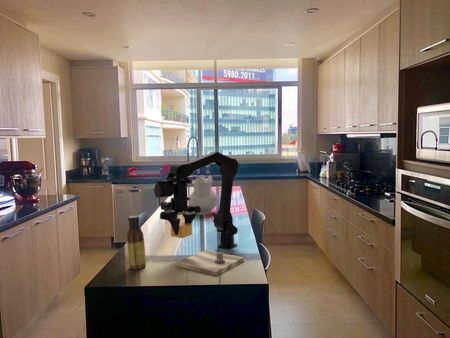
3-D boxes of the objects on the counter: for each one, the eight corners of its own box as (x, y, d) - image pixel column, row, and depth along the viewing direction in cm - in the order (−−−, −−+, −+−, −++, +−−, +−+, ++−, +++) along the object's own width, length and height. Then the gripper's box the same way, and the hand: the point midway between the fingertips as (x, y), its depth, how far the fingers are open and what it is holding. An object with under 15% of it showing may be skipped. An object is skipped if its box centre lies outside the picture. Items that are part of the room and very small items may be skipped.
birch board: (205, 253, 155) (205, 241, 155) (243, 261, 144) (243, 248, 144) (176, 266, 140) (176, 253, 140) (216, 275, 129) (215, 262, 129)
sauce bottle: (147, 264, 143) (145, 214, 142) (144, 270, 137) (142, 217, 135) (130, 265, 143) (128, 214, 141) (126, 270, 137) (124, 218, 135)
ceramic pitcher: (216, 218, 228) (218, 178, 226) (185, 216, 228) (186, 176, 226) (217, 211, 250) (219, 175, 248) (189, 210, 250) (190, 173, 248)
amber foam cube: (181, 232, 154) (180, 222, 154) (192, 234, 150) (191, 224, 150) (171, 236, 149) (170, 225, 149) (182, 238, 146) (181, 227, 145)
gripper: (181, 191, 161) (182, 226, 162) (149, 197, 146) (150, 235, 147) (200, 192, 154) (201, 229, 155) (169, 199, 139) (171, 239, 140)
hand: (181, 233), depth 150 cm, fingers closed on amber foam cube, 6 cm apart
